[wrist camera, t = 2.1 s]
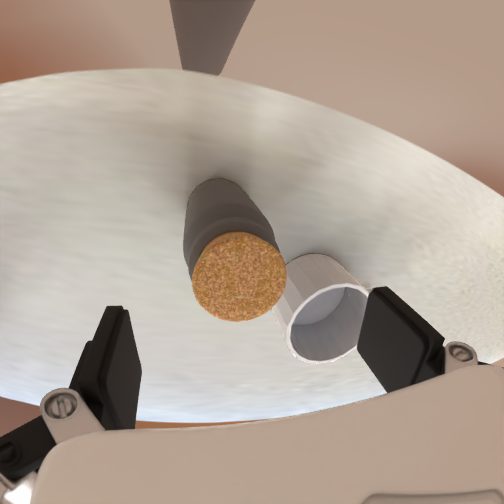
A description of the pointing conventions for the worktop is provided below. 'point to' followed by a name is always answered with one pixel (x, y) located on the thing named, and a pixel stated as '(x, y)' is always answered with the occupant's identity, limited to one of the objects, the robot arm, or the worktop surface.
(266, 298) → the bottle
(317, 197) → the worktop surface
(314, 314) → the mug
